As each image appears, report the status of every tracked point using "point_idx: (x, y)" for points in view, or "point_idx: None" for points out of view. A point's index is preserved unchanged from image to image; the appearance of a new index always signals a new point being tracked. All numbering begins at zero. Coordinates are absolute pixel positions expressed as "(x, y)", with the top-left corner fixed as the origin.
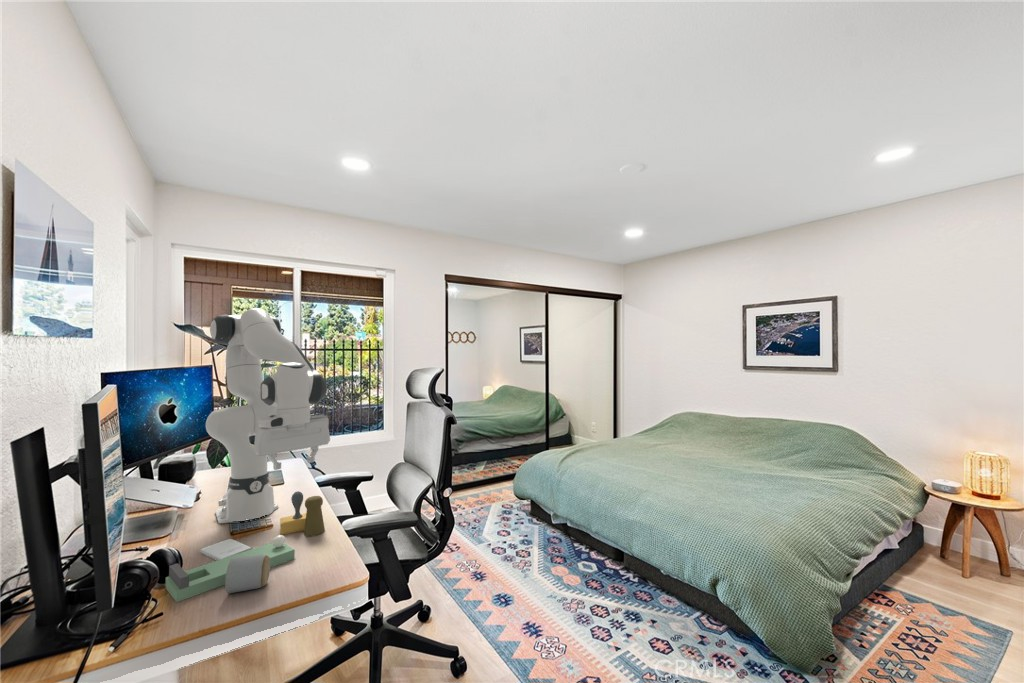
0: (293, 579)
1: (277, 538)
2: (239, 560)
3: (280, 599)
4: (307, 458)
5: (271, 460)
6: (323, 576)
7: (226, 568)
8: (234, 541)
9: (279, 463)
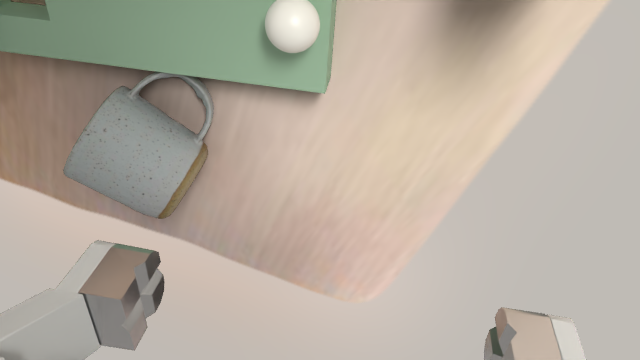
0: (262, 190)
1: (275, 42)
2: (91, 184)
3: (205, 236)
4: (507, 351)
5: (6, 328)
6: (320, 238)
7: (98, 24)
8: None
9: (116, 343)
